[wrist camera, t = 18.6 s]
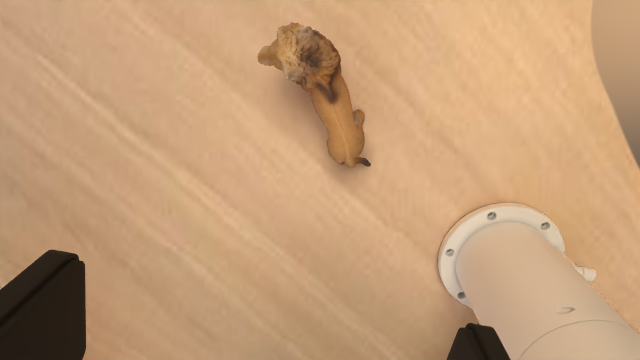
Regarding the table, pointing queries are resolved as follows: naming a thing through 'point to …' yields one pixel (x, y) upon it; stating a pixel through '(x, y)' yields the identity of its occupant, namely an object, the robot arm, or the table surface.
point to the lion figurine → (320, 86)
